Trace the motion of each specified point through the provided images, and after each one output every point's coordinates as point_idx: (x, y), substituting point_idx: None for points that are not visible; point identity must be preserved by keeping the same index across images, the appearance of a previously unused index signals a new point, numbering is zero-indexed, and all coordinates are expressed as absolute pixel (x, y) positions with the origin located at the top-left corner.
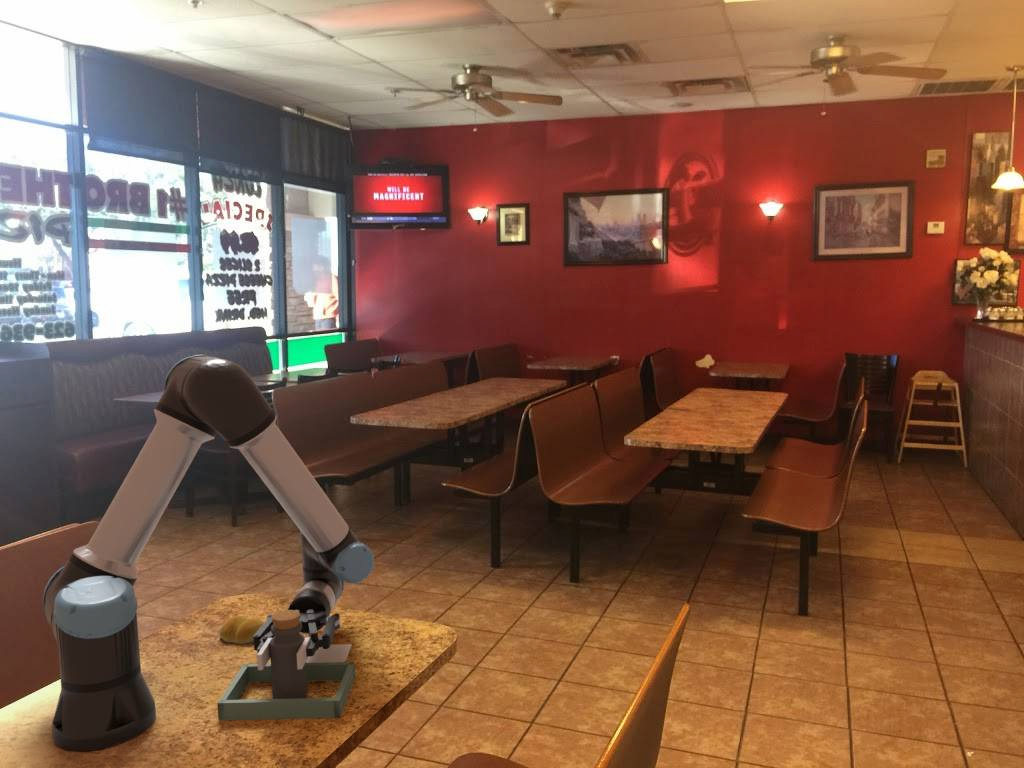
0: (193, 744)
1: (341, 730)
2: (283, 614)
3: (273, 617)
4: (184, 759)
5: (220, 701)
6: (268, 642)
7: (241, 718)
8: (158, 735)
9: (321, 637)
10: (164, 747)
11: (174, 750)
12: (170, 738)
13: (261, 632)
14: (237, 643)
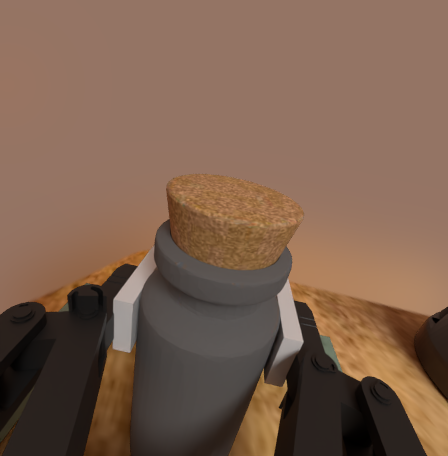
0: (313, 308)
1: (101, 281)
2: (250, 197)
3: (285, 196)
4: (304, 285)
5: (327, 341)
6: (281, 303)
7: None
8: (384, 342)
9: (46, 329)
10: (348, 312)
11: (330, 303)
12: (358, 330)
13: (388, 438)
14: None
